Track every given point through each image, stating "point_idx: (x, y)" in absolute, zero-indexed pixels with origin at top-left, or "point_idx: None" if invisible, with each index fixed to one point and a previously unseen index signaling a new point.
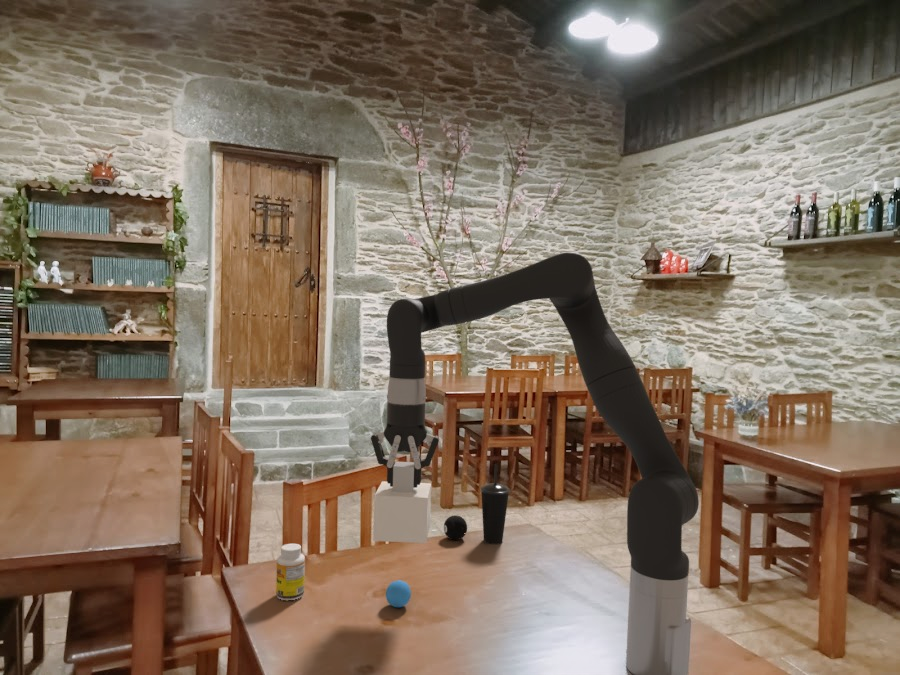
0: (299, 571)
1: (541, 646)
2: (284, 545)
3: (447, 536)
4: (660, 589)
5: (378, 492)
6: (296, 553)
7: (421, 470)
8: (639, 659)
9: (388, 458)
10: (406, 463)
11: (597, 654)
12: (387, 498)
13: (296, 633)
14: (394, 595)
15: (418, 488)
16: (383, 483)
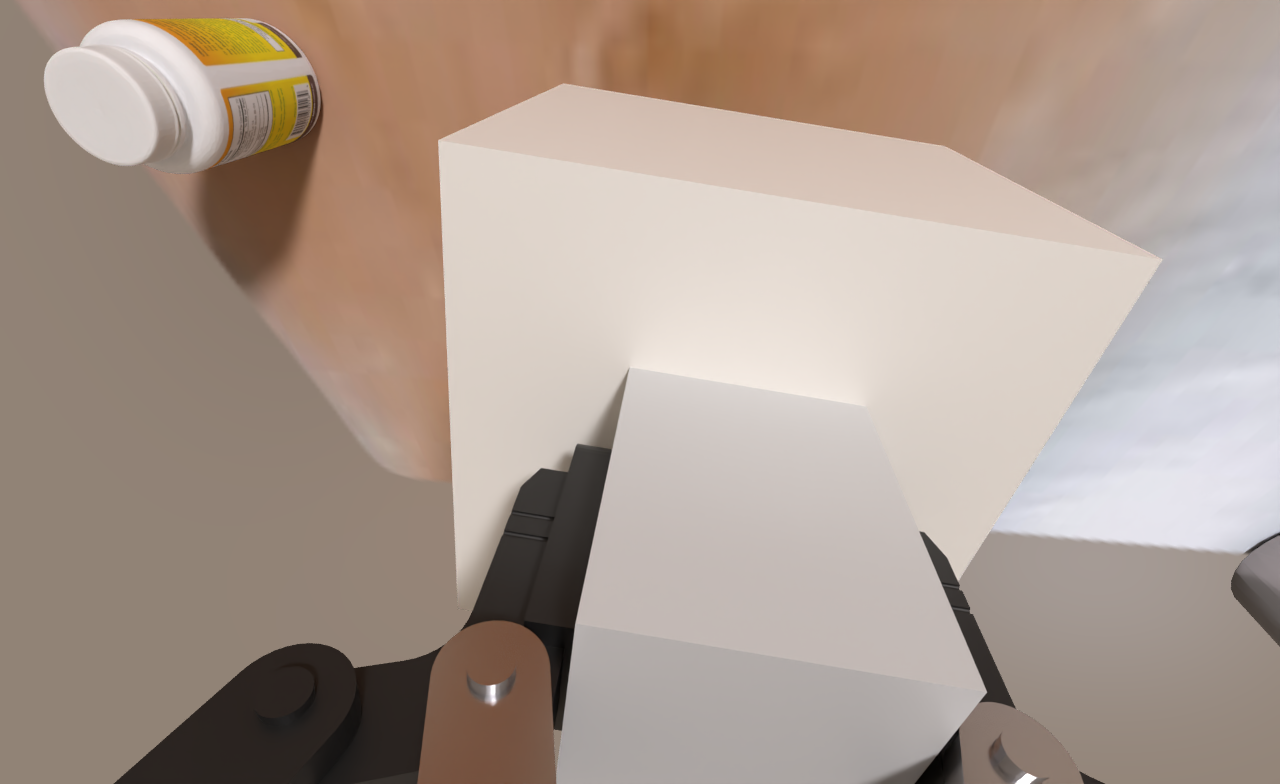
0: (247, 146)
1: (1086, 460)
2: (51, 87)
3: None
4: None
5: (476, 549)
6: (166, 150)
7: (998, 687)
8: (1266, 627)
9: (410, 778)
10: (774, 735)
11: (1218, 504)
12: None
13: (399, 348)
14: None
15: (891, 461)
16: (476, 262)
